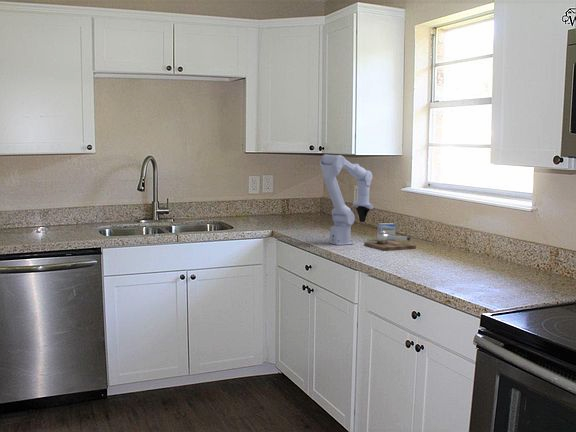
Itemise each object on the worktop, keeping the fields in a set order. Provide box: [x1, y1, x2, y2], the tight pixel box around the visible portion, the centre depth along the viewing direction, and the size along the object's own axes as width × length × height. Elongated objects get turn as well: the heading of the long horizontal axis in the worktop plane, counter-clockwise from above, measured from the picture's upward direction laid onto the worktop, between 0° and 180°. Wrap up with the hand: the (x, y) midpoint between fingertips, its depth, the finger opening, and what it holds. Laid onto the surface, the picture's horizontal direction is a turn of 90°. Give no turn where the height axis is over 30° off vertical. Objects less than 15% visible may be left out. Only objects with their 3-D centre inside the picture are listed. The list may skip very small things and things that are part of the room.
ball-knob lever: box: [376, 231, 411, 244], centre depth 310 cm, size 16×5×6 cm, turn 78°
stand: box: [363, 240, 417, 252], centre depth 311 cm, size 18×16×2 cm
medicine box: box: [376, 222, 396, 241], centre depth 330 cm, size 8×4×9 cm, turn 105°
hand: (362, 221), depth 327 cm, fingers closed
